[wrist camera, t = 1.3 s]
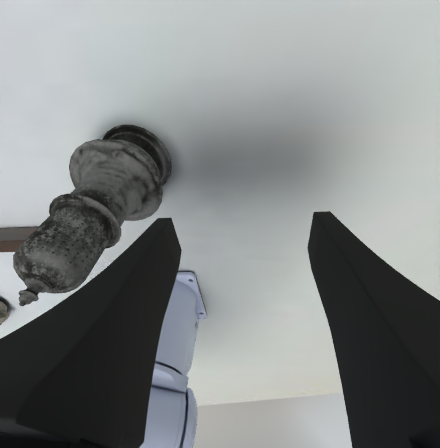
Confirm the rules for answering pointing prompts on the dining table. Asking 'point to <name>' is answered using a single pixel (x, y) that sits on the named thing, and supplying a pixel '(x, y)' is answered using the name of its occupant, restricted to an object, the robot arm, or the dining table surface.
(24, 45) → the dining table surface
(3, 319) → the elongated rock
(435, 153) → the dining table surface
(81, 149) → the salt shaker
